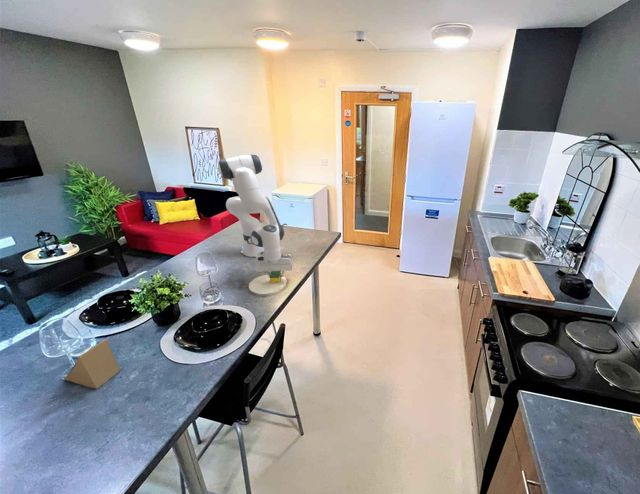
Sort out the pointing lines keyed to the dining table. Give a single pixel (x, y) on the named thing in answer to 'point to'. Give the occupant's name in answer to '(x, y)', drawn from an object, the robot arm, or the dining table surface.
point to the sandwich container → (94, 366)
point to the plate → (266, 285)
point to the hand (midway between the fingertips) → (275, 276)
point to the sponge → (275, 277)
